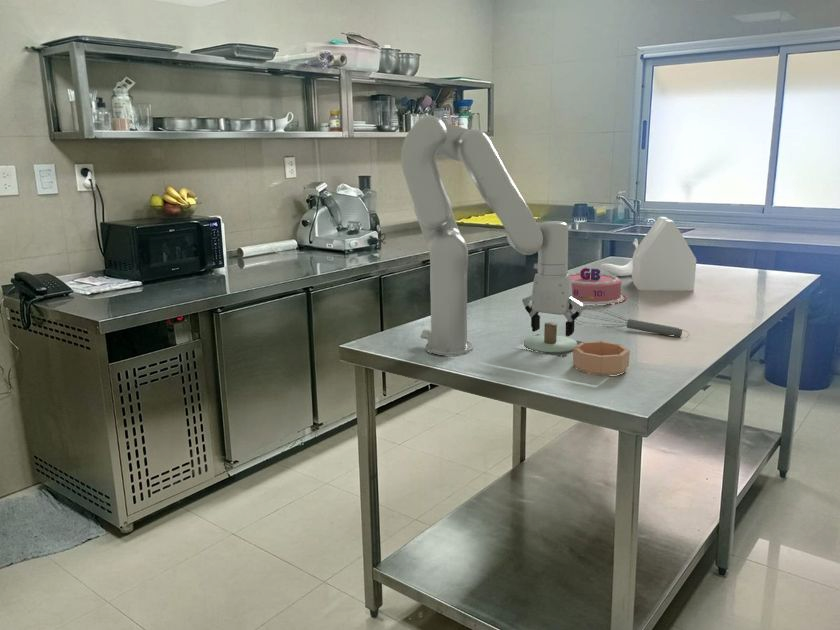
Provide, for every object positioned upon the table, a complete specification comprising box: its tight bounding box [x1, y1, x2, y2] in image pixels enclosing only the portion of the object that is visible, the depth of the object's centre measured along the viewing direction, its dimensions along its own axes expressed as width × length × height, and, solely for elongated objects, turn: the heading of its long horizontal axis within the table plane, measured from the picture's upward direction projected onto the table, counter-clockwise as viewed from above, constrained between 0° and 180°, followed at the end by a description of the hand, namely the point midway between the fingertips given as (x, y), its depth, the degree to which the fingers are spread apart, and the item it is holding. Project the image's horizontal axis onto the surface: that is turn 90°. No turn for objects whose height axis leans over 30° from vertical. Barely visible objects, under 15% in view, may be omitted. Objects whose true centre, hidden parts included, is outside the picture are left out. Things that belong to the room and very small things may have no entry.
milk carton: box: [631, 216, 697, 292], centre depth 246 cm, size 19×15×25 cm
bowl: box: [572, 340, 631, 376], centre depth 159 cm, size 12×12×5 cm
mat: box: [534, 333, 583, 358], centre depth 178 cm, size 15×15×1 cm
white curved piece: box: [600, 238, 639, 277], centre depth 267 cm, size 5×19×15 cm, turn 113°
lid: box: [523, 322, 577, 353], centre depth 177 cm, size 14×14×6 cm
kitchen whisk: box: [572, 305, 690, 337], centre depth 191 cm, size 6×34×6 cm, turn 57°
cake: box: [568, 267, 627, 306], centre depth 232 cm, size 25×25×11 cm
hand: (552, 332), depth 177 cm, fingers open, 9 cm apart
